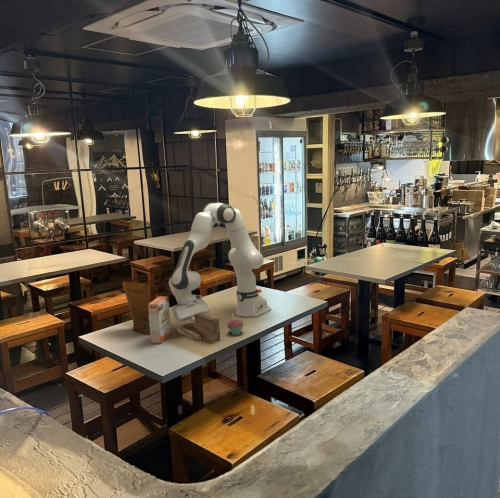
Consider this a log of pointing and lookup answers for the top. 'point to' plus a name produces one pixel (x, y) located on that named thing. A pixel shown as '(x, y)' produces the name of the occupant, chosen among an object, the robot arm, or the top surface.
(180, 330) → the chute
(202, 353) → the top surface
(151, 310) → the cracker box
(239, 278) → the robot arm
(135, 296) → the pancake mix bag
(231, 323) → the cupcake
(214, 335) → the block
